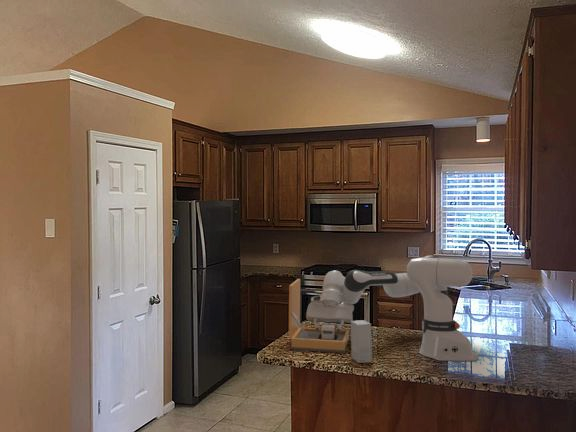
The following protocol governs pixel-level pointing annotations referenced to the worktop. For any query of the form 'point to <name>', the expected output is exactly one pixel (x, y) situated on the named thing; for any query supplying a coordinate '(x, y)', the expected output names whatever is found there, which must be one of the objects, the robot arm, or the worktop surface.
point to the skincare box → (361, 341)
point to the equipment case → (310, 329)
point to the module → (328, 331)
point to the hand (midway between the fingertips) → (328, 329)
